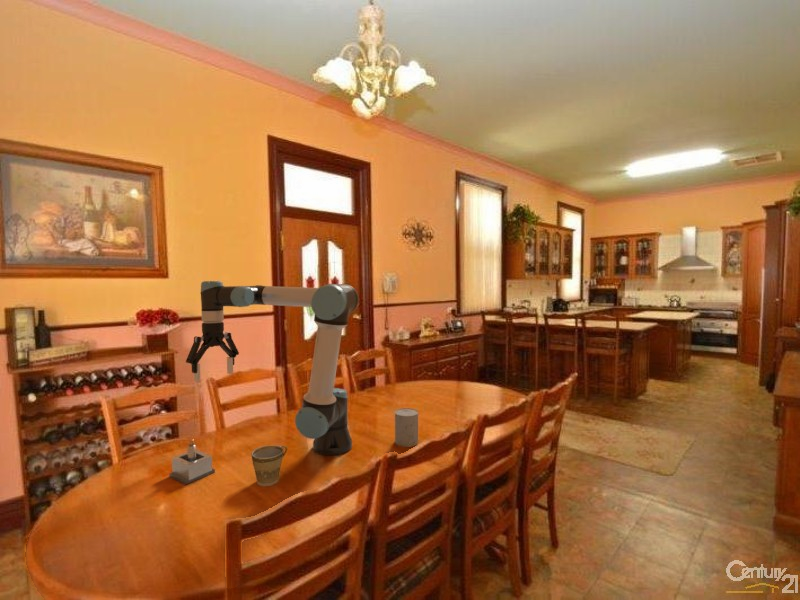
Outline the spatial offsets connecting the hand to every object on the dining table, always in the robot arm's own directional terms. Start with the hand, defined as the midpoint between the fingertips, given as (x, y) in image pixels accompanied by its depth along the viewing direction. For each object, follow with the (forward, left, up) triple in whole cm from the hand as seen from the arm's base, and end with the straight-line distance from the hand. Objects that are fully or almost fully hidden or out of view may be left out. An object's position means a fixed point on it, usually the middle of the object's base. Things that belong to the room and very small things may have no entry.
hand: (214, 377), depth 152 cm
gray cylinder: (-57, -47, -29) cm, 79 cm away
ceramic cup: (-36, +3, -29) cm, 46 cm away
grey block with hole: (-10, +15, -28) cm, 33 cm away
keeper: (-10, +15, -28) cm, 34 cm away
